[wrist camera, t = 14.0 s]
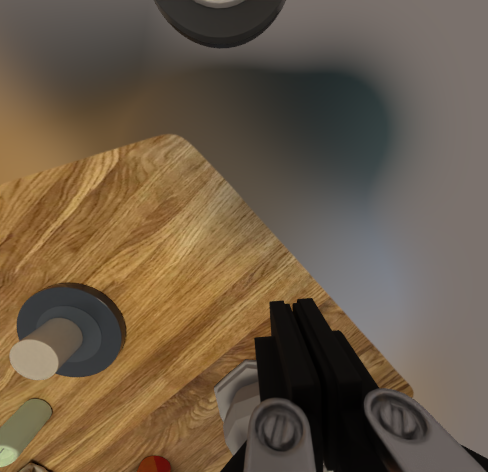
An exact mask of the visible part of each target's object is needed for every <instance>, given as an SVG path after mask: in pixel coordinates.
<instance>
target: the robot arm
mask: <svg viewBox="0 0 488 472" xmlns="http://www.w3.org/2000/svg"><path fill="white" fill-rule="evenodd" d="M193 1H195V2H196V3H199V4H201V5H204V6H206V7H211V8H228V7H232V6H235V5H238V4H239V3H241V2H243V1H245V0H193ZM270 320H271V336H268V337H257V338H254V339H255V351H256V362H257V373H258V384H259V394H260V404H259V405H257V406H256V407H255V409H254V410H253V412H252V414H251V416H250V420H249V425H248V435H247V440H246V441H245V442H244V444H243V445H242V446H241V447H240V449H239V450H238V451H237V452H236V453H235V455H234V456H233V457H232V458H231V459H230V461H229V462H228V463H227V464H226V465H225V467H224V468H223V469H222V470H221V471H220V472H323V461H324V464H325V467H326V469H327V471H333V472H488V459H487V458H485V457H483V456H481V455H479V454H477V453H476V452H474V451H472V450H470V449H468V448H466V447H464V446H462V445H460V444H459V443H458V442H457V441H456V440H455V439H454V438H453V437H452V436H451V435H450V434H449V433H448V432H447V431H446V430H445V429H444V428H443V427H442V426H441V425H440V424H439V423H438V422H437V421H436V420H435V419H434V418H433V416H432V415H430V413H429V412H428V411H427V410H426V409H424V407H422V406H421V405H420V404H419V403H418V402H417V401H415V400H414V399H412V398H411V397H409V396H407V395H406V394H404V393H401V392H398V391H396V390H392V389H386V388H382V389H379V387H378V386H377V384H376V383H375V381H374V380H373V378H372V377H371V375H370V374H369V372H368V371H367V369H366V368H365V366H364V365H363V363H362V362H361V360H360V359H359V357H358V356H357V354H356V353H355V351H354V350H353V348H352V347H351V345H350V344H349V342H348V341H347V339H346V338H345V336H344V335H343V333H342V332H341V331H339V330H337V331H332V330H331V328H330V327H329V325H328V324H327V322H326V320H325V319H324V317H323V315H322V314H321V312H320V310H319V309H318V307H317V306H316V304H315V302H314V301H313V299H312V298H306V299H298V300H297V303H293V312H292V310H291V307H290V305H289V304H285V303H284V301H272V302H270Z"/></svg>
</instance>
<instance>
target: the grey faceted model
mask: <svg viewBox="0 0 488 472" xmlns="http://www.w3.org/2000/svg"><path fill="white" fill-rule="evenodd" d="M214 391H215V395H216V399H217V403H218V407H219V412H220V416H221V418H222V421H223V422H224V425H223V429H224V436H225V442H226V444H227V446H228V447H229V449H230V451H231V453H232V455H233V456H234V455H235V453H236V452H237V451H238V450H239V449H240V447H241V446H242V445H243V444H244V442H245V441H246V440H247V435H248V425H249V420H250V416H251V414H252V412H253V410H254V409H255V407H256V406H257V405H259V404H260V394H259V384H258V373H257V362H256V360H244V361H243V362H242V363H241V364H239V365H238V366H237V367H236V368H234V369H233V370H232V371H231V372H230V373H228V374H227V375H226V376H225V377H224V378H223V379H222V380H221V381H220V382H219V383H218V384H217V385H216V386H215V387H214ZM323 463H324V461H323ZM323 472H333V471H327V469H326V467H325V464H324V465H323Z"/></svg>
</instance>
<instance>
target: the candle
mask: <svg viewBox="0 0 488 472" xmlns="http://www.w3.org/2000/svg"><path fill="white" fill-rule="evenodd" d="M51 414H52V410H51V407H50V406H49V404H48V403H46V402H45V401H43V400H40V399H30V400H28V401H26V402H25V403H24V404H23V405H22V406H21V407H20V408H19V409H18V410H17V411H16V412H15V413H14V414H13V415H12V416H11V417H10V418H9V419H8V421H7V422H6V423H5V424H4V425H3V426H2V427H1V428H0V467H4V466H7V465H9V464H11V463H13V462H14V461H15V460H16V459H17V458H18V456H19V455H20V454H21V453H22V452H23V450H24V449H25V448H26V447H27V445H28V444H29V443H30V442H31V440H32V439H33V438H34V437H35V435H36V434H37V433H38V432H39V430H40V429H41V428H42V427H43V425H44V424H45V423H46V422H47V420H48V419H49V418H50V417H51Z"/></svg>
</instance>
